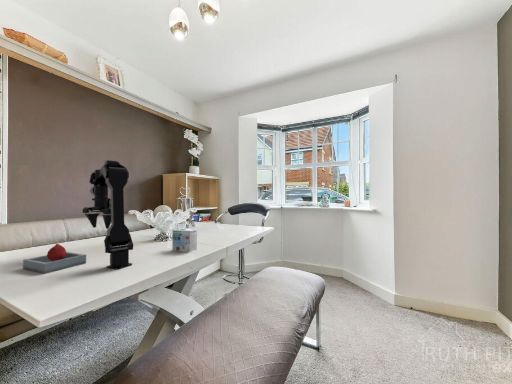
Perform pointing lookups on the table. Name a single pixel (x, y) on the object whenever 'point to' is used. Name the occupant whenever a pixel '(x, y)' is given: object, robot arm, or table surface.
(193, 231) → the light bulb box
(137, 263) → the table surface
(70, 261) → the tray
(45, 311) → the table surface
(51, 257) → the onion
